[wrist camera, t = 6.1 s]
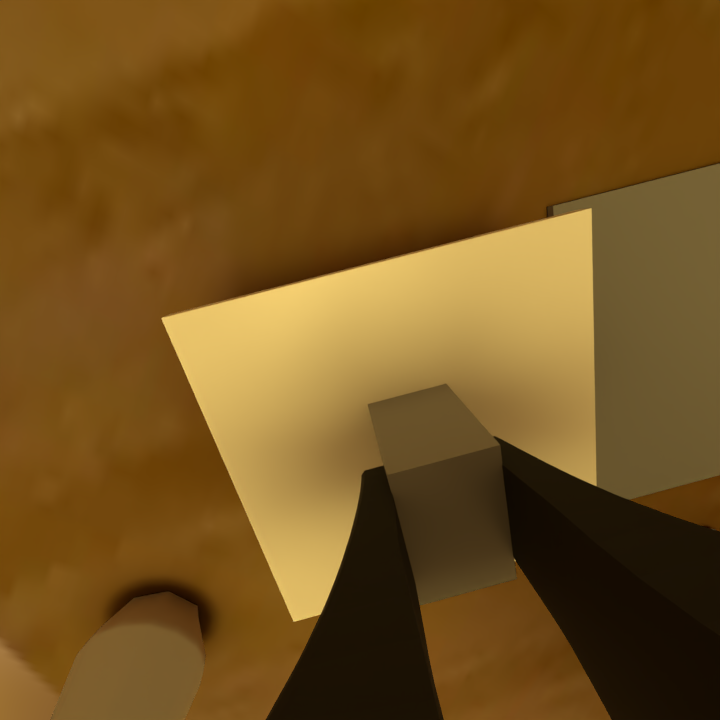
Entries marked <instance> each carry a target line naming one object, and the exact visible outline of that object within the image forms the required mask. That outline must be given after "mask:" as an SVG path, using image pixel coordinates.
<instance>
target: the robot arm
mask: <svg viewBox="0 0 720 720" xmlns="http://www.w3.org/2000/svg"><path fill="white" fill-rule="evenodd" d="M493 437H494V438H495V440H496V441H497V442H498V443H499V444H500V447H501V455H502V463H503V464H502V469H503V478H504V486H505V494H506V502H507V510H508V518H509V526H510V534H511V543H512V551H513V557H514V559H515V560H516V562H517V563H518V565H519V566H520V568H521V569H522V571H523V572H524V574H525V575H526V577H527V578H528V580H529V581H530V583H531V584H532V586H533V587H534V589H535V590H536V592H537V594H538V595H539V597H540V598H541V600H542V601H543V603H544V604H545V606H546V607H547V609H548V610H549V612H550V613H551V615H552V616H553V618H554V619H555V621H556V622H557V624H558V625H559V627H560V629H561V630H562V632H563V633H564V635H565V637H566V638H567V640H568V642H569V643H570V645H571V647H572V648H573V650H574V652H575V654H576V656H577V657H578V659H579V661H580V663H581V665H582V666H583V668H584V670H585V672H586V674H587V675H588V677H589V679H590V681H591V683H592V684H593V686H594V688H595V690H596V692H597V693H598V695H599V697H600V699H601V701H602V702H603V704H604V706H605V708H606V710H607V712H608V714H609V715H610V717H611V719H612V720H720V532H719V531H716V530H715V529H709V528H706V527H703V526H700V525H697V524H694V523H691V522H688V521H685V520H682V519H679V518H676V517H673V516H670V515H668V514H665V513H662V512H660V511H657V510H654V509H651V508H649V507H646V506H643V505H641V504H638V503H635V502H633V501H630V500H628V499H625V498H623V497H620V496H618V495H615V494H613V493H611V492H608V491H606V490H604V489H601V488H599V487H597V486H595V485H592V484H590V483H588V482H585V481H583V480H581V479H579V478H577V477H575V476H572V475H570V474H568V473H566V472H564V471H562V470H560V469H558V468H556V467H554V466H552V465H550V464H548V463H546V462H544V461H542V460H540V459H538V458H536V457H534V456H532V455H530V454H529V453H527V452H525V451H523V450H521V449H519V448H517V447H515V446H513V445H511V444H510V443H508V442H506V441H504V440H502V439H500V438H498V437H496V436H493ZM266 720H444V719H443V715H442V711H441V707H440V704H439V700H438V696H437V692H436V688H435V684H434V679H433V675H432V670H431V665H430V660H429V655H428V650H427V644H426V639H425V633H424V628H423V622H422V616H421V611H420V605H419V600H418V594H417V589H416V583H415V579H414V576H413V572H412V568H411V564H410V560H409V556H408V552H407V548H406V544H405V540H404V537H403V533H402V529H401V525H400V521H399V517H398V513H397V509H396V505H395V501H394V498H393V494H392V493H391V489H390V486H389V482H388V479H387V475H386V472H385V468H384V465H383V466H379V467H376V468H372V469H368V470H365V471H364V472H363V474H362V475H361V488H360V495H359V500H358V505H357V510H356V514H355V518H354V522H353V526H352V530H351V533H350V537H349V540H348V543H347V546H346V549H345V552H344V556H343V559H342V562H341V565H340V568H339V570H338V573H337V576H336V579H335V581H334V584H333V586H332V589H331V591H330V594H329V596H328V599H327V601H326V603H325V606H324V608H323V610H322V613H321V615H320V617H319V619H318V621H317V623H316V626H315V628H314V630H313V632H312V634H311V636H310V638H309V640H308V643H307V645H306V647H305V649H304V651H303V653H302V655H301V657H300V659H299V661H298V662H297V664H296V666H295V668H294V670H293V672H292V674H291V675H290V677H289V679H288V681H287V683H286V684H285V686H284V688H283V690H282V692H281V693H280V695H279V697H278V699H277V701H276V702H275V704H274V706H273V708H272V710H271V711H270V713H269V715H268V717H267V719H266Z"/></svg>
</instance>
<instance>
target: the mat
mask: <svg viewBox="0 0 720 720" xmlns="http://www.w3.org/2000/svg"><path fill="white" fill-rule="evenodd" d="M589 208H592V261H593V316H594V371H595V427H596V482H597V487H599V488H601V489H604V490H606V491H608V492H611V493H613V494H615V495H618V496H620V497H623V498H625V499H628V500H629V499H633V498H637V497H641V496H644V495H648V494H652V493H655V492H659V491H663V490H666V489H670V488H674V487H677V486H681V485H685V484H688V483H692V482H696V481H700V480H703V479H707V478H711V477H714V476H718V475H720V163H718V164H714V165H710V166H706V167H703V168H699V169H695V170H691V171H687V172H683V173H679V174H675V175H671V176H667V177H663V178H659V179H655V180H652V181H648V182H644V183H640V184H636V185H632V186H628V187H624V188H620V189H616V190H612V191H608V192H604V193H601V194H597V195H593V196H589V197H585V198H581V199H577V200H573V201H569V202H565V203H561V204H557V205H553V206H550V207H547V213H548V217H552V216H556V215H560V214H564V213H567V212H571V211H575V210H581V209H589Z"/></svg>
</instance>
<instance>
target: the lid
mask: <svg viewBox="0 0 720 720" xmlns="http://www.w3.org/2000/svg"><path fill="white" fill-rule="evenodd" d="M161 319H162V321H163V323H164V325H165V328H166V330H167V332H168V335H169V337H170V339H171V341H172V344H173V346H174V348H175V351H176V353H177V355H178V358H179V360H180V362H181V364H182V367H183V369H184V371H185V374H186V376H187V378H188V380H189V383H190V385H191V387H192V390H193V392H194V394H195V397H196V399H197V401H198V403H199V406H200V408H201V410H202V413H203V415H204V417H205V419H206V422H207V424H208V426H209V429H210V431H211V433H212V436H213V438H214V440H215V442H216V445H217V447H218V449H219V452H220V454H221V456H222V458H223V461H224V463H225V465H226V468H227V470H228V472H229V475H230V477H231V479H232V481H233V484H234V486H235V488H236V491H237V493H238V495H239V497H240V500H241V502H242V504H243V507H244V509H245V511H246V514H247V516H248V518H249V520H250V523H251V525H252V527H253V530H254V532H255V534H256V536H257V539H258V541H259V543H260V546H261V548H262V550H263V553H264V555H265V557H266V559H267V562H268V564H269V566H270V569H271V571H272V573H273V575H274V578H275V580H276V582H277V585H278V587H279V589H280V592H281V594H282V596H283V598H284V601H285V603H286V605H287V608H288V610H289V612H290V614H291V617H292V619H293V621H294V622H295V621H298V620H302V619H306V618H309V617H313V616H317V615H320V614H321V613H322V610H323V608H324V606H325V603H326V601H327V599H328V596H329V594H330V591H331V589H332V586H333V584H334V581H335V579H336V576H337V573H338V570H339V568H340V565H341V562H342V559H343V556H344V552H345V549H346V546H347V543H348V540H349V537H350V533H351V530H352V526H353V522H354V518H355V514H356V510H357V505H358V500H359V495H360V488H361V475H362V474H363V472H364V471H365V470H368V469H372V468H376V467H379V466H383V465H384V468H385V472H386V475H387V479H388V482H389V486H390V489H391V493H392V494H393V498H394V501H395V505H396V509H397V513H398V517H399V521H400V525H401V529H402V533H403V537H404V540H405V544H406V548H407V552H408V556H409V560H410V564H411V568H412V572H413V576H414V579H415V583H416V589H417V594H418V598H419V602H420V605H423V604H427V603H431V602H434V601H438V600H442V599H445V598H449V597H453V596H456V595H460V594H464V593H467V592H471V591H475V590H478V589H482V588H486V587H489V586H493V585H497V584H500V583H504V582H508V581H511V580H515V579H517V577H516V569H515V561H516V560H515V559H514V557H513V551H512V543H511V534H510V526H509V518H508V510H507V502H506V494H505V486H504V478H503V469H502V464H503V463H502V455H501V447H500V444H499V443H498V442H497V441H496V440H495V438H494V437H493V436H496V437H498V438H500V439H502V440H504V441H506V442H508V443H510V444H511V445H513V446H515V447H517V448H519V449H521V450H523V451H525V452H527V453H529V454H530V455H532V456H534V457H536V458H538V459H540V460H542V461H544V462H546V463H548V464H550V465H552V466H554V467H556V468H558V469H560V470H562V471H564V472H566V473H568V474H570V475H572V476H575V477H577V478H579V479H581V480H583V481H585V482H588V483H590V484H592V485H595V486H597V482H596V427H595V371H594V316H593V261H592V208H589V209H581V210H575V211H571V212H567V213H564V214H560V215H556V216H552V217H548V218H544V219H540V220H536V221H532V222H528V223H524V224H520V225H517V226H513V227H509V228H505V229H501V230H497V231H493V232H489V233H485V234H481V235H477V236H474V237H470V238H466V239H462V240H458V241H454V242H450V243H446V244H442V245H438V246H434V247H431V248H427V249H423V250H419V251H415V252H411V253H407V254H403V255H399V256H395V257H391V258H388V259H384V260H380V261H376V262H372V263H368V264H364V265H360V266H356V267H352V268H348V269H344V270H341V271H337V272H333V273H329V274H325V275H321V276H317V277H313V278H309V279H305V280H301V281H298V282H294V283H290V284H286V285H282V286H278V287H274V288H270V289H266V290H262V291H258V292H255V293H251V294H247V295H243V296H239V297H235V298H231V299H227V300H223V301H219V302H215V303H212V304H208V305H204V306H200V307H196V308H192V309H188V310H184V311H180V312H176V313H172V314H169V315H167V316H165V317H163V318H161Z"/></svg>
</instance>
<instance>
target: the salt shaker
mask: <svg viewBox="0 0 720 720" xmlns="http://www.w3.org/2000/svg"><path fill="white" fill-rule="evenodd" d="M205 657H206V654H205V649H204V643H203V638H202V633H201V628H200V623H199V617H198V606H197V605H195V604H193V603H191V602H189V601H187V600H185V599H183V598H181V597H179V596H177V595H175V594H173V593H171V592H169V591H166V592H161V593H156V594H151V595H146V596H141V597H136V598H133V599H132V600H131V601H130V602H129V603H127V604H126V605H125V606H124V607H123V608H122V609H121V610H119V611H118V612H117V613H116V614H115V615H114V616H113V617H111V618H110V619H109V620H108V621H107V622H106V623H105V624H103V625H102V626H101V627H100V628H99V629H98V630H97V632H96V633H95V634H94V635H93V636H92V637H91V638H90V639H89V640H88V641H87V642H86V644H85V645H84V646H83V648H82V649H81V650H80V651H79V653H78V654H77V656H76V658H75V661H74V663H73V666H72V668H71V670H70V673H69V675H68V678H67V680H66V683H65V685H64V687H63V690H62V692H61V695H60V697H59V700H58V702H57V705H56V707H55V710H54V712H53V714H52V717H51V719H50V720H185V717H186V715H187V713H188V711H189V708H190V706H191V704H192V702H193V699H194V697H195V695H196V693H197V690H198V688H199V686H200V683H201V678H202V674H203V670H204V664H205Z"/></svg>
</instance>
